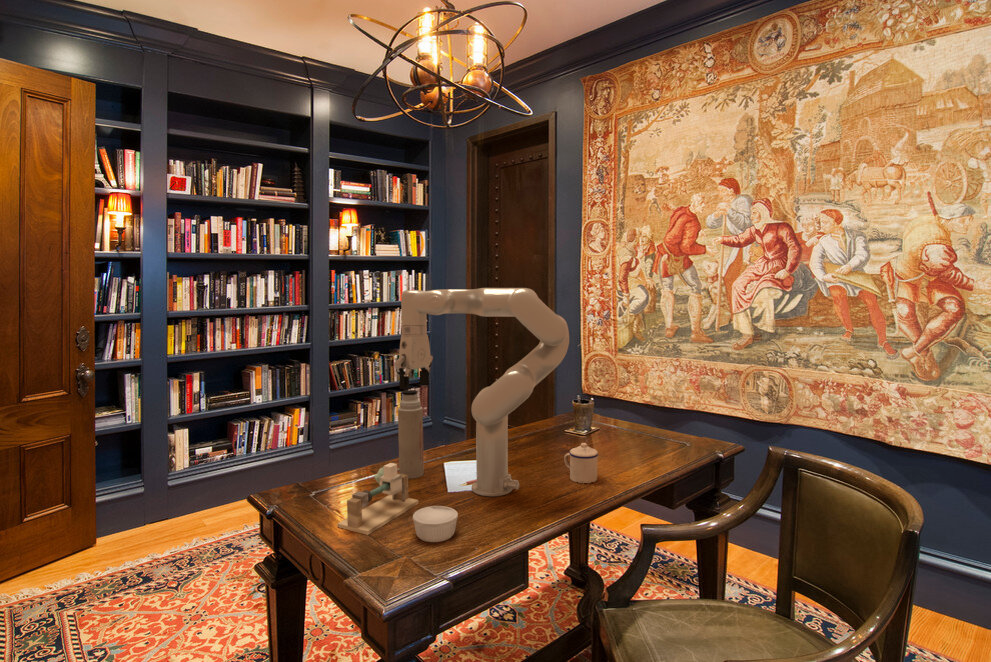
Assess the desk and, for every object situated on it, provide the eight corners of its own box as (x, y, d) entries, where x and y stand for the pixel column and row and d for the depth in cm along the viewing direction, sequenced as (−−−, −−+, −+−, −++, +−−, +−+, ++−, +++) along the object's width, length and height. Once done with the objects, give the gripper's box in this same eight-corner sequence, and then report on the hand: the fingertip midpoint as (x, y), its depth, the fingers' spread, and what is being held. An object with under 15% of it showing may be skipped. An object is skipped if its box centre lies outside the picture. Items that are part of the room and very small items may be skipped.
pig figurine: (377, 494, 164) (377, 472, 163) (369, 490, 167) (369, 468, 166) (399, 486, 170) (398, 465, 169) (391, 483, 172) (391, 462, 172)
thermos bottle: (426, 471, 184) (425, 388, 181) (418, 479, 176) (417, 393, 173) (404, 469, 185) (402, 388, 183) (395, 477, 177) (393, 392, 175)
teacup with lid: (603, 478, 175) (603, 443, 174) (587, 486, 169) (587, 449, 168) (572, 470, 184) (573, 436, 183) (556, 477, 177) (556, 442, 176)
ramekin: (462, 526, 142) (462, 506, 141) (452, 546, 131) (451, 525, 130) (420, 523, 144) (420, 504, 143) (407, 543, 133) (406, 522, 132)
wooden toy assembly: (390, 497, 161) (389, 469, 160) (418, 503, 156) (417, 474, 156) (337, 527, 141) (336, 495, 141) (367, 535, 137) (366, 501, 136)
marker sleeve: (388, 487, 156) (388, 461, 155) (402, 490, 154) (401, 464, 153) (379, 492, 152) (379, 465, 152) (393, 495, 150) (392, 468, 149)
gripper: (405, 333, 156) (406, 392, 158) (440, 329, 171) (440, 383, 173) (385, 332, 160) (386, 389, 162) (421, 328, 175) (422, 381, 177)
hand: (414, 386), depth 167 cm, fingers open, 9 cm apart
